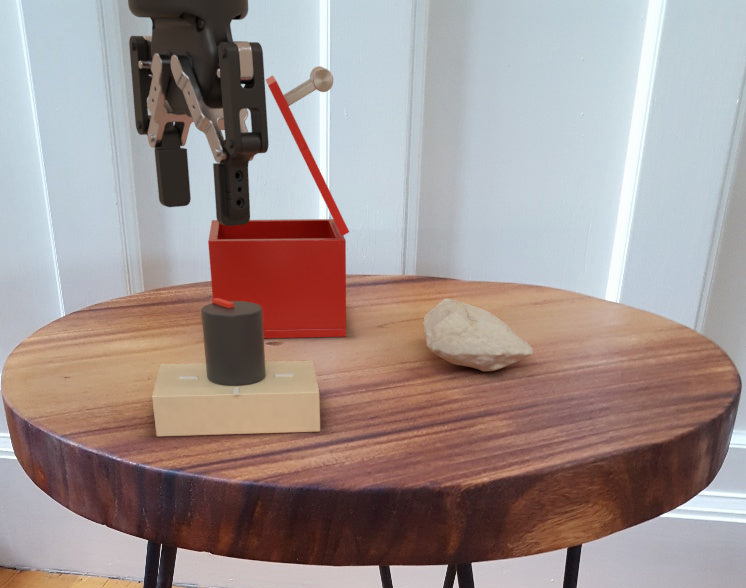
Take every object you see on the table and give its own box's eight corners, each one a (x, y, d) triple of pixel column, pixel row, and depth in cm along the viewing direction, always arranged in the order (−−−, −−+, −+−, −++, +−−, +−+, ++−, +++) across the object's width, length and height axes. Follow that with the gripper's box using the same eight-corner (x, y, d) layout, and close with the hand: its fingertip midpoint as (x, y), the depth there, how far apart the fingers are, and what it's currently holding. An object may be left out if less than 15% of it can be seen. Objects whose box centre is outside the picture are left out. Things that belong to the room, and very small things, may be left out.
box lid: (268, 85, 81) (324, 51, 80) (265, 79, 91) (315, 49, 90) (341, 236, 88) (393, 206, 87) (332, 216, 98) (378, 189, 97)
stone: (433, 382, 81) (436, 321, 79) (408, 339, 92) (410, 285, 90) (539, 378, 82) (545, 318, 80) (502, 337, 93) (506, 283, 91)
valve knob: (277, 377, 72) (273, 304, 69) (228, 389, 69) (223, 314, 67) (243, 364, 75) (239, 293, 72) (195, 375, 72) (188, 302, 69)
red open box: (216, 339, 92) (208, 241, 87) (218, 310, 101) (211, 220, 97) (346, 336, 93) (345, 239, 88) (336, 308, 103) (335, 219, 98)
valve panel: (156, 438, 70) (151, 395, 68) (164, 400, 77) (159, 360, 75) (320, 433, 71) (319, 390, 69) (313, 396, 78) (312, 357, 76)
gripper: (78, -74, 61) (111, 204, 70) (182, -87, 52) (205, 236, 61) (183, -66, 65) (202, 197, 74) (298, -77, 55) (303, 226, 65)
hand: (203, 214), depth 67 cm, fingers open, 8 cm apart
